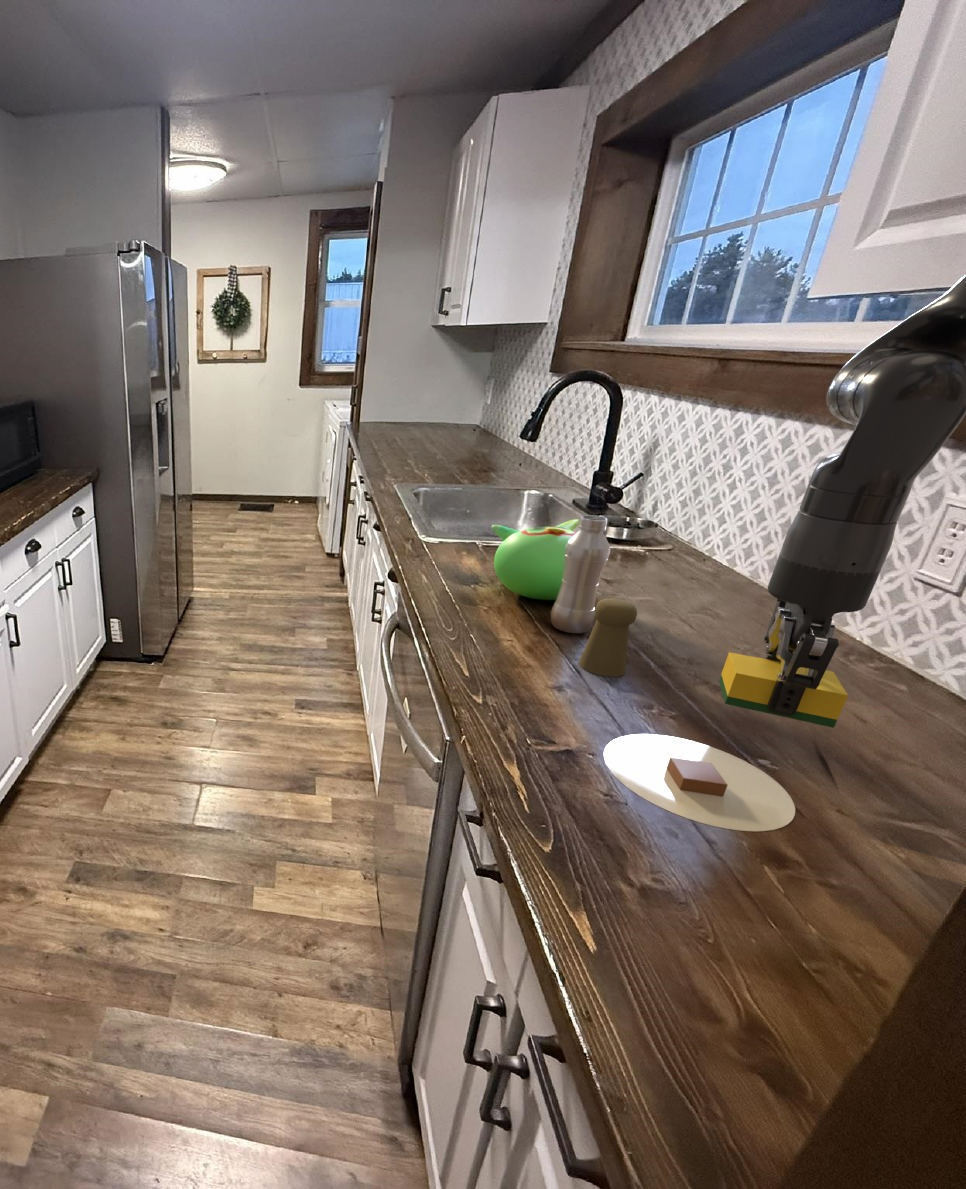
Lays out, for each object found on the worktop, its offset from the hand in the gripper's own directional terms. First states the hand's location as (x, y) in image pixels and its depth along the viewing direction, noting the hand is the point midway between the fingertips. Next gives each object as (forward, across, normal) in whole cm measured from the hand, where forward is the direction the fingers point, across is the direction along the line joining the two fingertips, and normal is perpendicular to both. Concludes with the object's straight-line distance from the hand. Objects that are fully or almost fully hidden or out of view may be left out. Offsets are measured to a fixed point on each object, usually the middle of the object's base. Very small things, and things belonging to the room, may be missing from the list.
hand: (774, 698), depth 71 cm
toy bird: (+9, +47, +26) cm, 55 cm away
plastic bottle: (+9, +32, +20) cm, 39 cm away
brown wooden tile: (+8, -9, +6) cm, 13 cm away
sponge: (+1, 0, 0) cm, 1 cm away
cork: (+9, +19, +15) cm, 26 cm away
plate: (+9, -8, +6) cm, 13 cm away
